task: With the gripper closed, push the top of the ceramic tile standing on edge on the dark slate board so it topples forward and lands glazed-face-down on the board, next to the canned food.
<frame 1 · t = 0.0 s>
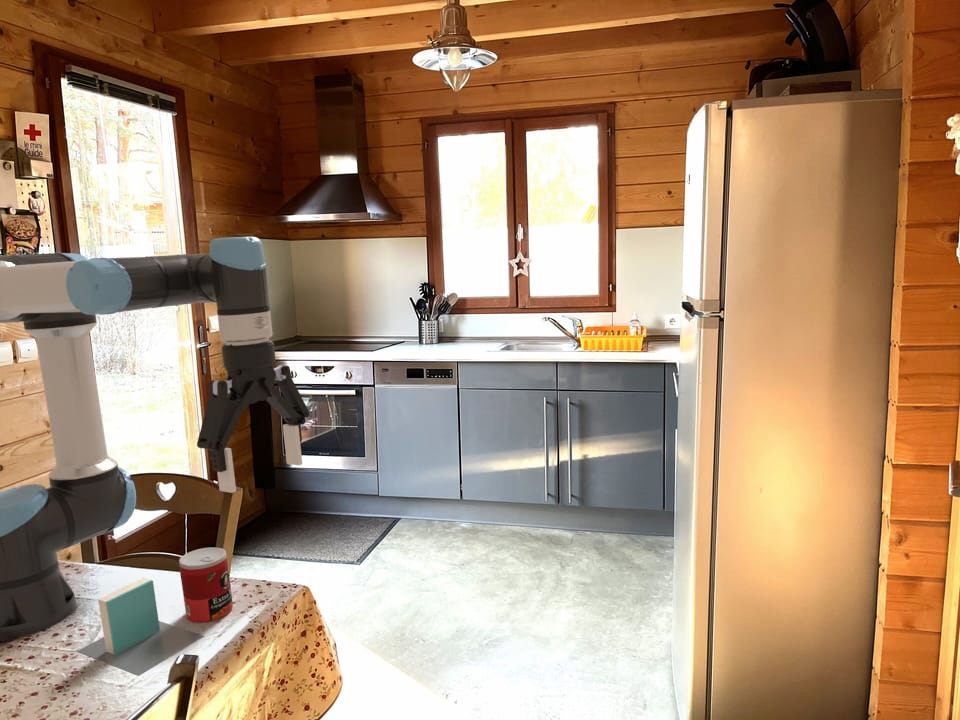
hand: (263, 477, 110), 28 cm above the table, tool pointing down, fingers open, 13 cm apart
slate board: (141, 646, 116), on the table
tile: (133, 640, 117), point 1 cm above the table, touching slate board
canned food: (210, 615, 125), on the table
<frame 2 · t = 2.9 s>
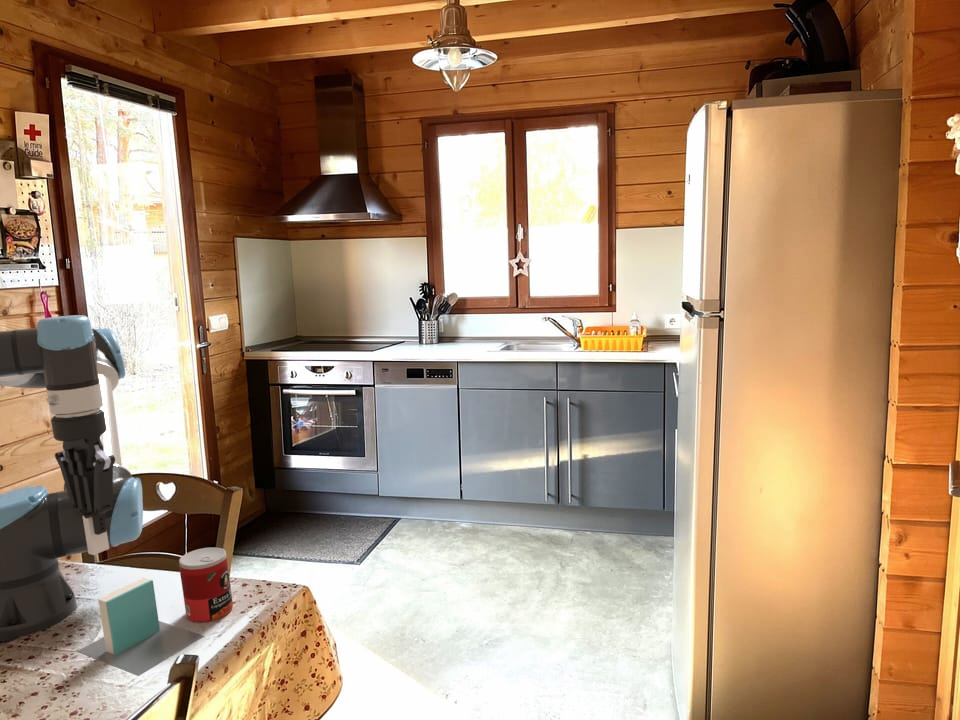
hand: (98, 551, 117), 15 cm above the table, tool pointing down, fingers closed
nothing on the table moved.
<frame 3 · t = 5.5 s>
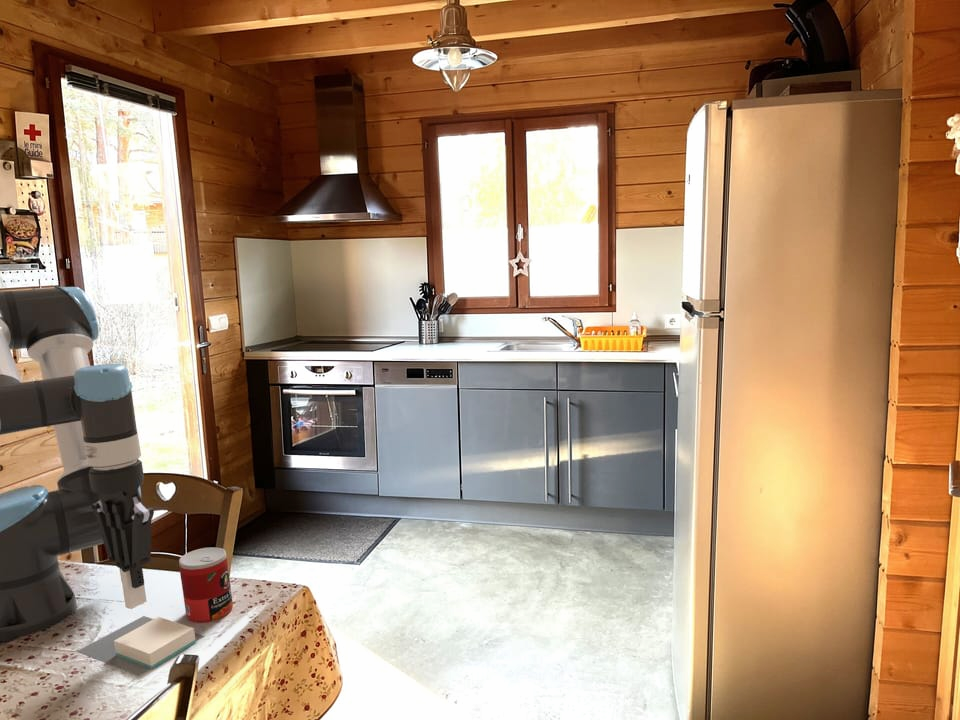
hand: (136, 604, 114), 8 cm above the table, tool pointing down, fingers closed
tile: (137, 635, 116), point 2 cm above the table, tilted 90°, touching slate board
everything else where it was.
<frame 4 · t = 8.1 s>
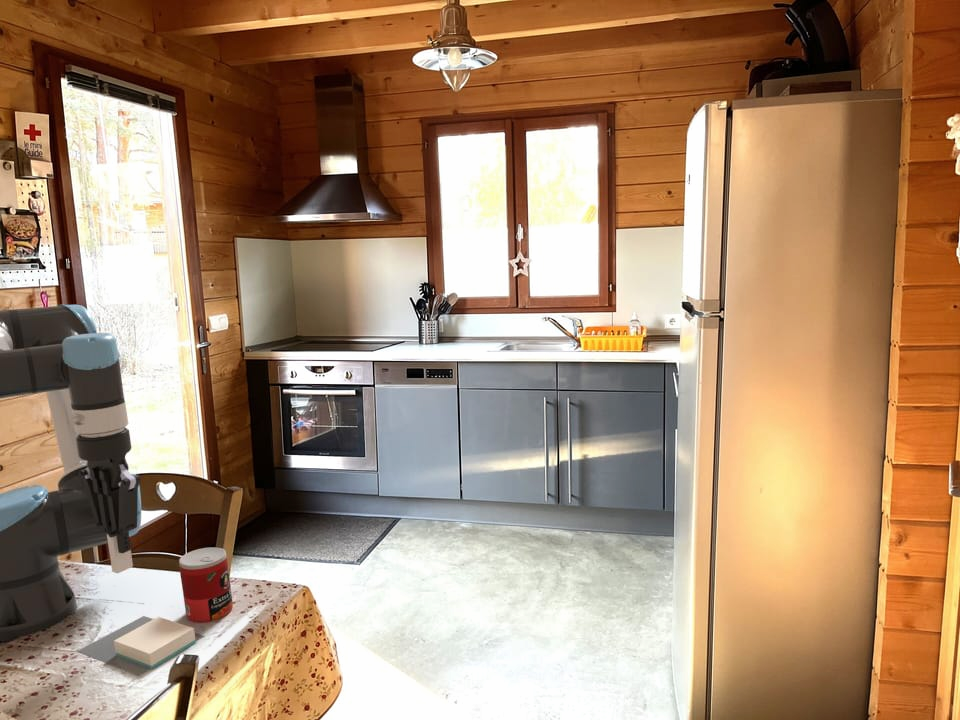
hand: (122, 569, 117), 12 cm above the table, tool pointing down, fingers closed
nothing on the table moved.
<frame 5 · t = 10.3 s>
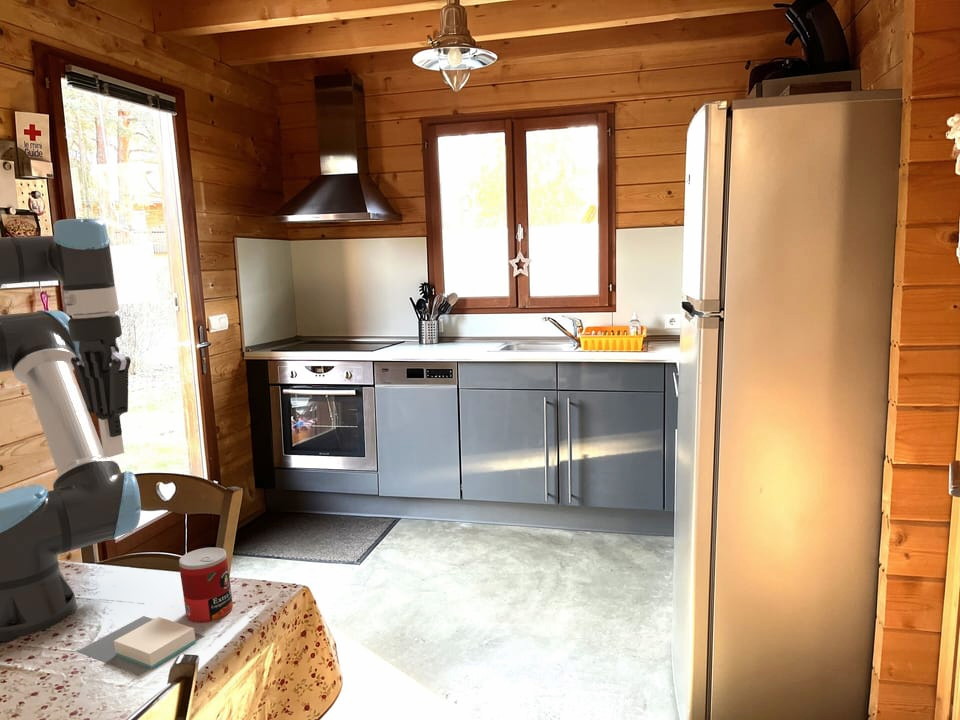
hand: (114, 454, 119), 30 cm above the table, tool pointing down, fingers closed
nothing on the table moved.
at the end: tile tilted 90°; tile inside the target area (3.2 cm from its centre), point 1.8 cm above the table; canned food moved 0.2 cm from its start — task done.
